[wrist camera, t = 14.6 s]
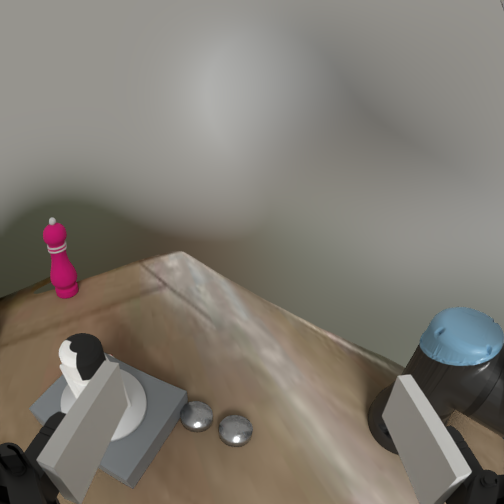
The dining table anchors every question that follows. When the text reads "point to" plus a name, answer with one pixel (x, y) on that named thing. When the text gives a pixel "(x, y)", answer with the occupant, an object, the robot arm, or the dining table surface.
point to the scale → (127, 420)
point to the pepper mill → (60, 260)
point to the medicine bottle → (82, 361)
